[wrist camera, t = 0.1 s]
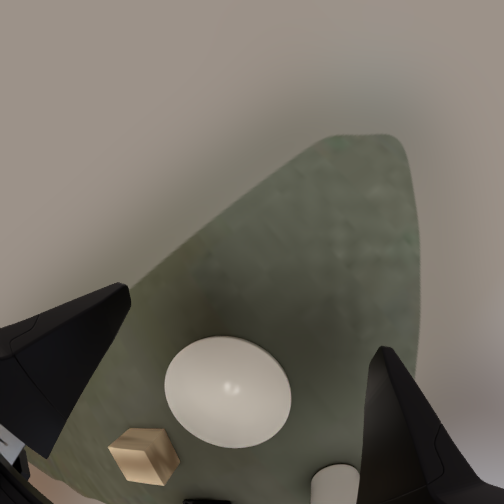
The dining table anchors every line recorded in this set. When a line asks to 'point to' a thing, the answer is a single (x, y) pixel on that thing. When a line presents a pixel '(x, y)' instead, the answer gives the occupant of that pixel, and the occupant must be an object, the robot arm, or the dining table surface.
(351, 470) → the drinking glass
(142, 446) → the oak block
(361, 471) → the robot arm
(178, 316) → the dining table surface
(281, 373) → the plate
